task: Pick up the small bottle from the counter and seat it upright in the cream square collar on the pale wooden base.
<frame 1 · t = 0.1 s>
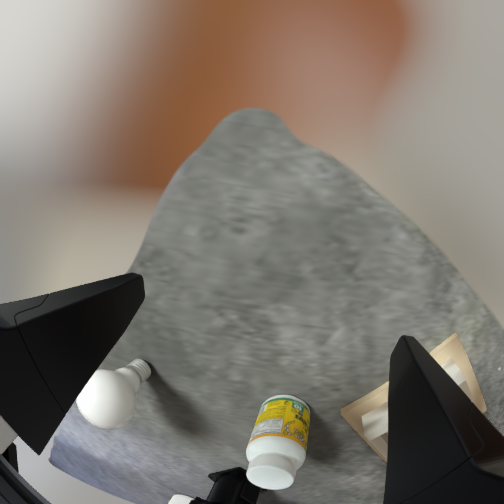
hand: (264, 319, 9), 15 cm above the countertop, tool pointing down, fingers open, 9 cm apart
supplement bottle: (286, 410, 26), on the countertop
can: (189, 501, 35), on the countertop
lightbulb: (145, 365, 30), on the countertop
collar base: (422, 410, 23), on the countertop
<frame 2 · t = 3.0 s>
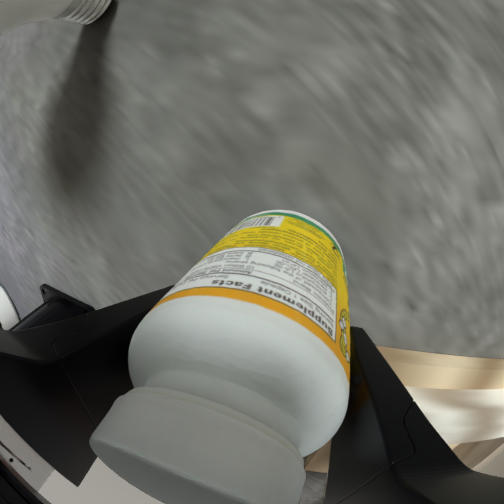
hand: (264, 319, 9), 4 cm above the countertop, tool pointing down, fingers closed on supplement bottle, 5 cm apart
supplement bottle: (283, 267, 12), on the countertop, touching gripper
can: (8, 303, 24), on the countertop
lightbulb: (105, 7, 9), on the countertop
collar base: (423, 427, 14), on the countertop
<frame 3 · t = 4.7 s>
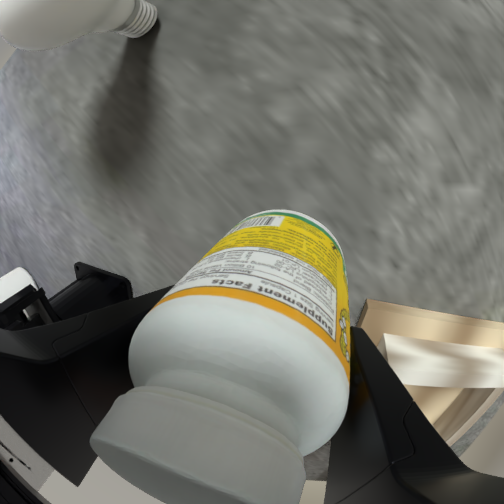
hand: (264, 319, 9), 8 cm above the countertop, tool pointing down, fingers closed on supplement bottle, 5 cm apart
supplement bottle: (283, 267, 12), point 4 cm above the countertop, touching gripper
can: (31, 287, 28), on the countertop
lightbulb: (147, 23, 13), on the countertop
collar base: (416, 385, 17), on the countertop
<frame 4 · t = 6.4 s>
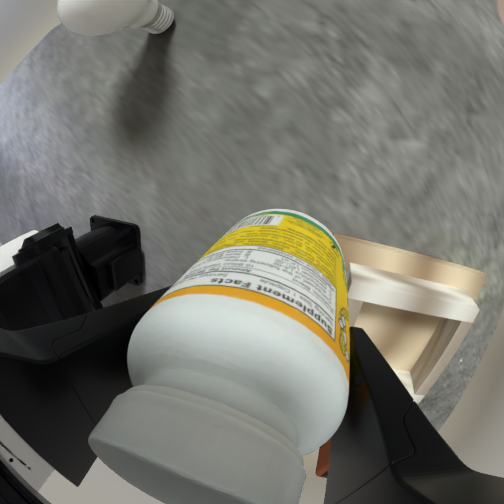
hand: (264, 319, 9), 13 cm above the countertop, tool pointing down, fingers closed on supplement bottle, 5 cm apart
supplement bottle: (283, 267, 12), point 9 cm above the countertop, touching gripper
can: (43, 249, 31), on the countertop
battery: (357, 405, 27), on the countertop
lightbulb: (165, 23, 17), on the countertop
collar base: (388, 325, 22), on the countertop
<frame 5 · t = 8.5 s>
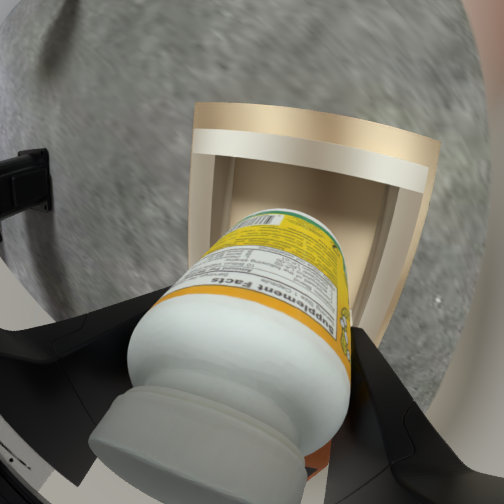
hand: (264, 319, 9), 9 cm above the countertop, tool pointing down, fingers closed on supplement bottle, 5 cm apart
supplement bottle: (283, 266, 12), point 5 cm above the countertop, touching gripper
battery: (292, 369, 22), on the countertop
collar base: (301, 229, 17), on the countertop
when the fingers open (6 cm above the countertop, at t = 10.0 s): supplement bottle drops 1 cm, resting on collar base.
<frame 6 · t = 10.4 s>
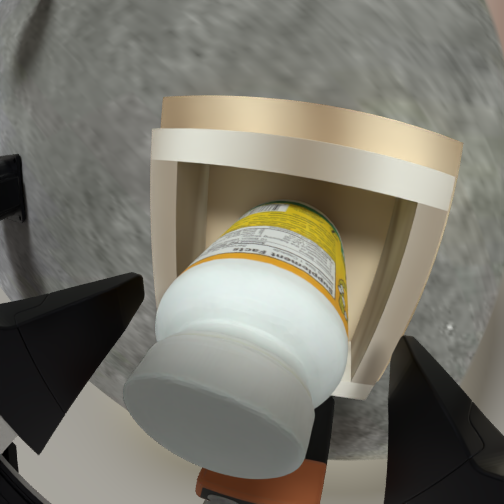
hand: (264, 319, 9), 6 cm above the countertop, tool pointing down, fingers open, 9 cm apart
supplement bottle: (287, 252, 13), point 1 cm above the countertop, touching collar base
battery: (284, 397, 19), on the countertop
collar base: (292, 248, 14), on the countertop
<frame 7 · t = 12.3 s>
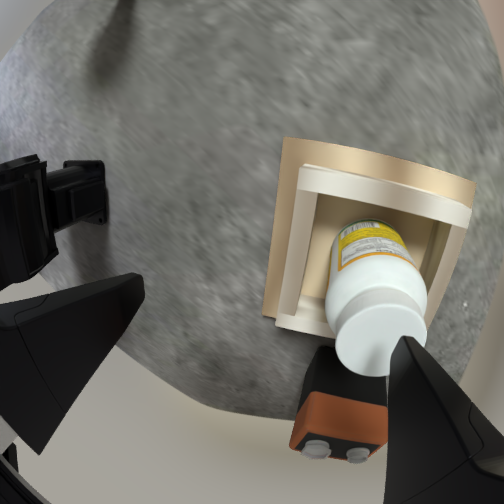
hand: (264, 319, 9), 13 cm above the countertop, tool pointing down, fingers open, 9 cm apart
supplement bottle: (366, 252, 19), point 1 cm above the countertop, touching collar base
battery: (345, 366, 24), on the countertop
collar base: (366, 249, 19), on the countertop
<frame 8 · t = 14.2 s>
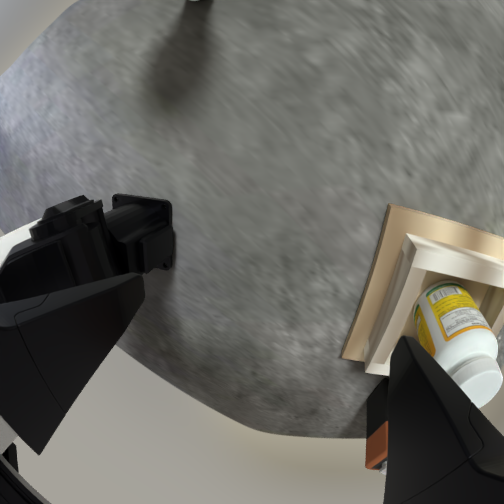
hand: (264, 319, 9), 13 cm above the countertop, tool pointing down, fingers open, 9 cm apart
supplement bottle: (439, 305, 19), point 1 cm above the countertop, touching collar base
can: (54, 238, 30), on the countertop
battery: (399, 391, 25), on the countertop
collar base: (437, 301, 20), on the countertop
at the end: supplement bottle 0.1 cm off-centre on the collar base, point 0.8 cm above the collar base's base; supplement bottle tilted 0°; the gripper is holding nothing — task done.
